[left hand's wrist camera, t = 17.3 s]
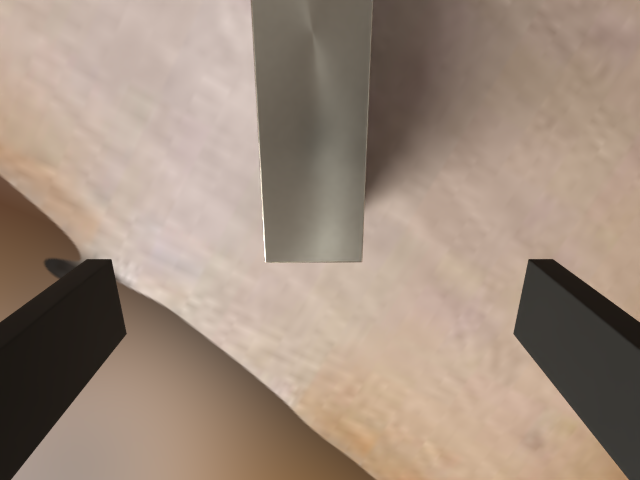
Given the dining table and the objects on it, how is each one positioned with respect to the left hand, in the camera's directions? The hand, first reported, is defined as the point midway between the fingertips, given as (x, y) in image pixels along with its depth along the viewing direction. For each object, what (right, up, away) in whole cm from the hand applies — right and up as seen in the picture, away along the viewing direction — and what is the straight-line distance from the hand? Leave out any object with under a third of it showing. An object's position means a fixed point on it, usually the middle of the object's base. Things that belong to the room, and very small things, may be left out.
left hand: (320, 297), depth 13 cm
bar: (0, +15, +15) cm, 21 cm away
